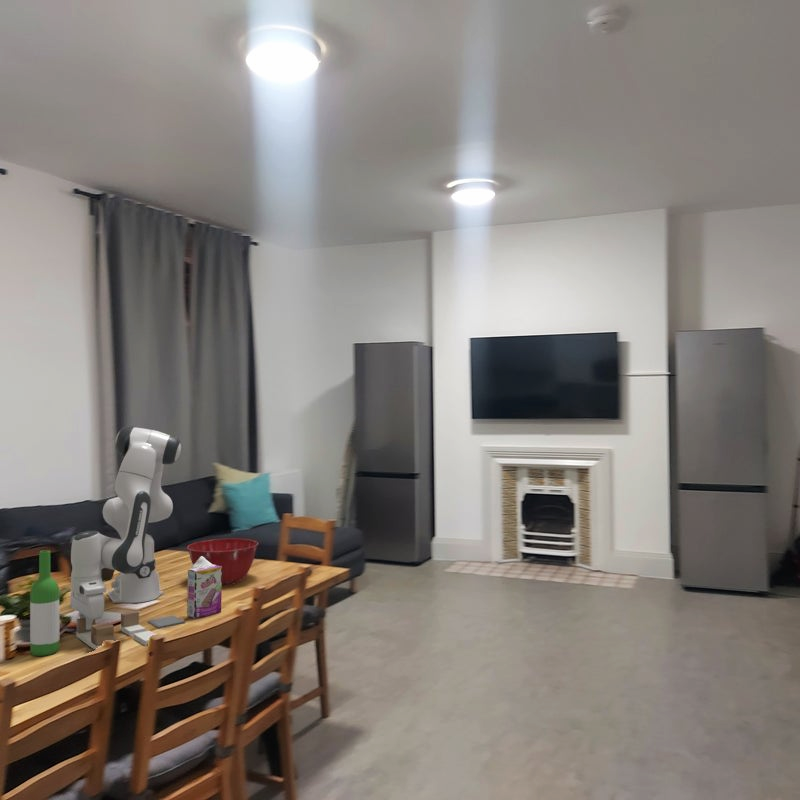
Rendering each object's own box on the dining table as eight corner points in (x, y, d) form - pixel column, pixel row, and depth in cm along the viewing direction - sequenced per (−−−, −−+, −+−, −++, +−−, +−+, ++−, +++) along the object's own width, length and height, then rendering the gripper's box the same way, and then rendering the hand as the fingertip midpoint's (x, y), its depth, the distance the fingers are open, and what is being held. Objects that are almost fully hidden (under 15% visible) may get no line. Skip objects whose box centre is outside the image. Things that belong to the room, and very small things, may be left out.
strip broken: (120, 630, 237) (120, 613, 237) (135, 627, 240) (135, 610, 240) (145, 645, 222) (145, 627, 222) (161, 642, 225) (161, 624, 225)
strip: (76, 636, 230) (76, 618, 230) (92, 632, 233) (92, 615, 233) (98, 652, 215) (98, 633, 215) (115, 648, 218) (115, 630, 218)
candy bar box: (195, 619, 248) (195, 571, 248) (186, 617, 251) (186, 569, 251) (222, 612, 257) (222, 565, 257) (213, 609, 260) (213, 563, 260)
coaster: (147, 622, 245) (147, 620, 245) (173, 617, 251) (173, 615, 251) (158, 628, 238) (158, 626, 238) (184, 623, 244) (184, 621, 244)
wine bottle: (30, 650, 218) (30, 549, 218) (59, 646, 221) (59, 547, 221) (29, 658, 211) (29, 554, 211) (59, 654, 214) (59, 552, 214)
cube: (91, 642, 220) (91, 625, 220) (107, 638, 223) (107, 622, 223) (96, 646, 216) (96, 629, 216) (113, 642, 219) (113, 625, 219)
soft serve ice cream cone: (196, 595, 279) (196, 553, 279) (217, 595, 279) (217, 553, 279) (187, 601, 271) (187, 557, 271) (209, 601, 270) (209, 558, 270)
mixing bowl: (175, 580, 302) (175, 543, 302) (237, 570, 320) (237, 535, 320) (206, 594, 280) (206, 554, 280) (271, 582, 299) (271, 544, 299)
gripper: (65, 579, 236) (65, 622, 236) (86, 591, 221) (86, 637, 221) (85, 576, 240) (85, 618, 240) (108, 588, 225) (108, 633, 225)
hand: (86, 627), depth 230 cm, fingers closed on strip, 2 cm apart
